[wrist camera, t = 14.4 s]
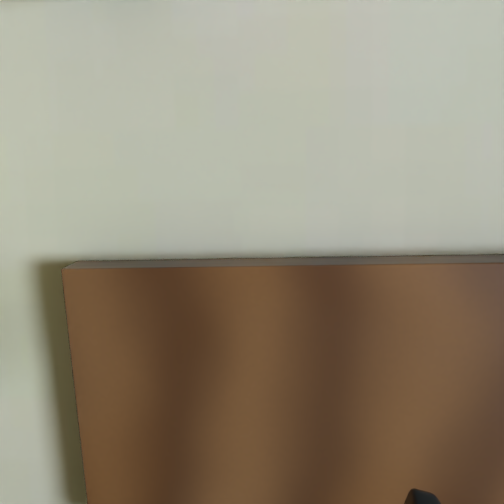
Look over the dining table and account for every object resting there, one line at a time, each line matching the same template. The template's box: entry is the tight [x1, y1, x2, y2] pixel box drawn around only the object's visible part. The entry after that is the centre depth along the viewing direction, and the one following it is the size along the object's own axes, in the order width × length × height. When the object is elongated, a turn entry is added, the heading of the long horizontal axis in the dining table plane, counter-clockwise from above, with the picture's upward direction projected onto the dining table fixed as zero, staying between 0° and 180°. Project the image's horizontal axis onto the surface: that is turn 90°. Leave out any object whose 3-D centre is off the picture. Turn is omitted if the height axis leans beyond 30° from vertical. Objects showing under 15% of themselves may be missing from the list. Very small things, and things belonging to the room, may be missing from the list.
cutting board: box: [61, 254, 504, 504], centre depth 20 cm, size 20×12×2 cm, turn 92°
